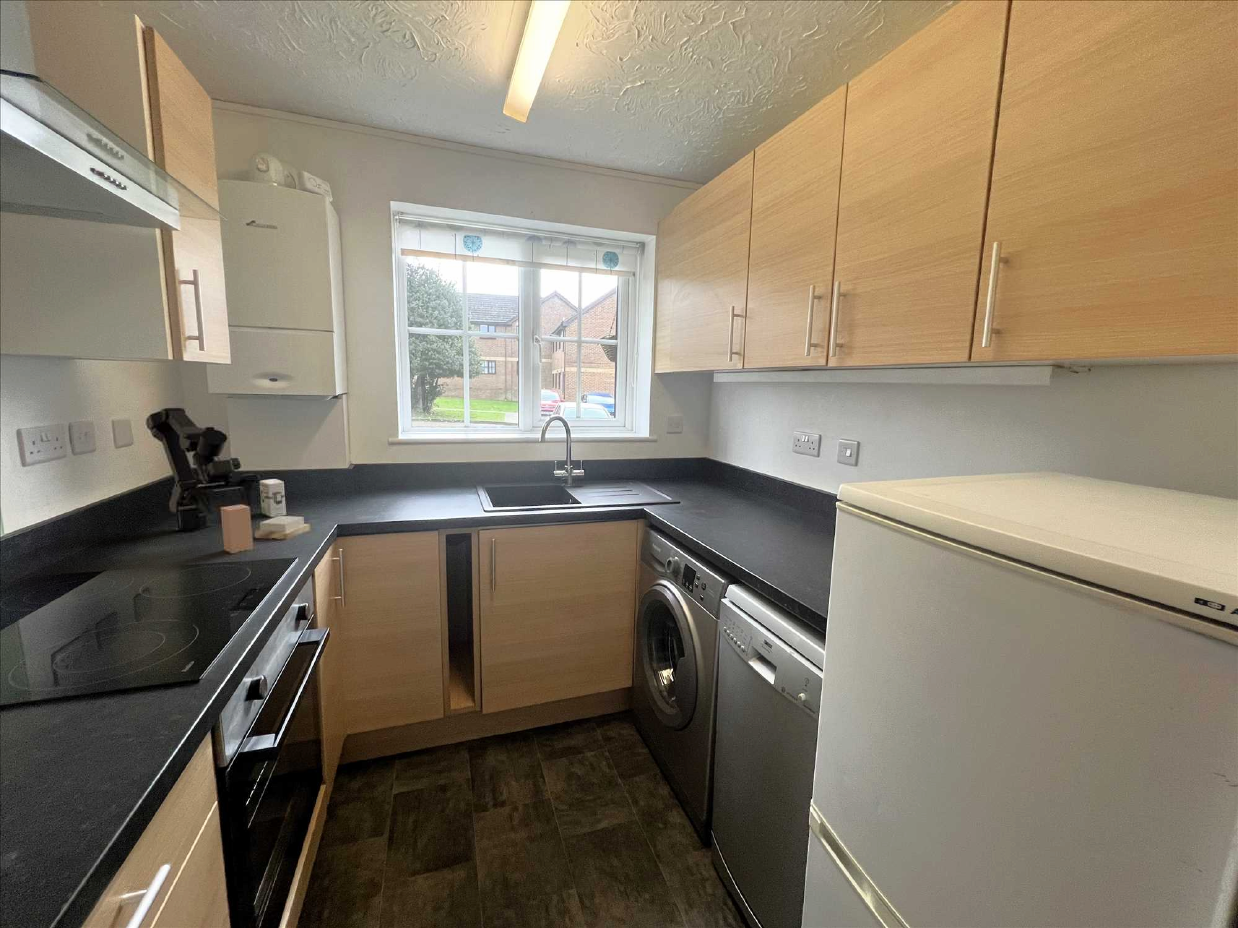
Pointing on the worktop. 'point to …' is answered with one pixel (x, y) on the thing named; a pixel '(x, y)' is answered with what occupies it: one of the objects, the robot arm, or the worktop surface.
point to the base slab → (282, 533)
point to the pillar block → (236, 528)
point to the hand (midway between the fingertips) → (230, 510)
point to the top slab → (281, 523)
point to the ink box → (272, 497)
